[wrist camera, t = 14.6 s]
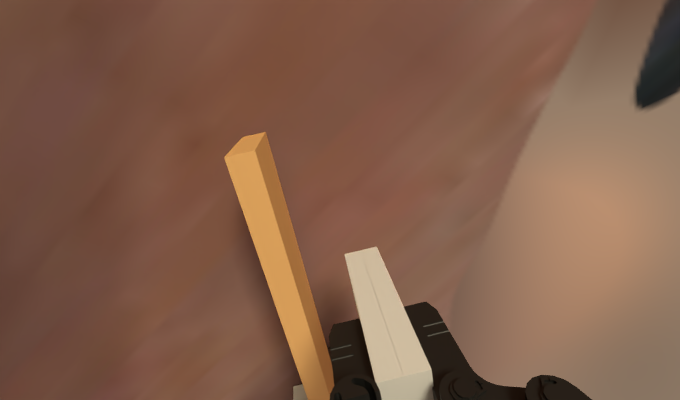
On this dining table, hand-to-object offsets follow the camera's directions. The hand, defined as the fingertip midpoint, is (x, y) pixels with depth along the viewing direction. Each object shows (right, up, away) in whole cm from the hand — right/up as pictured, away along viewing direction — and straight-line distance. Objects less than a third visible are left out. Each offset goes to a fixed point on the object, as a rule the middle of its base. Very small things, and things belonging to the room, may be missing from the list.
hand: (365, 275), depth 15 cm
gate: (-4, -2, +5) cm, 7 cm away
